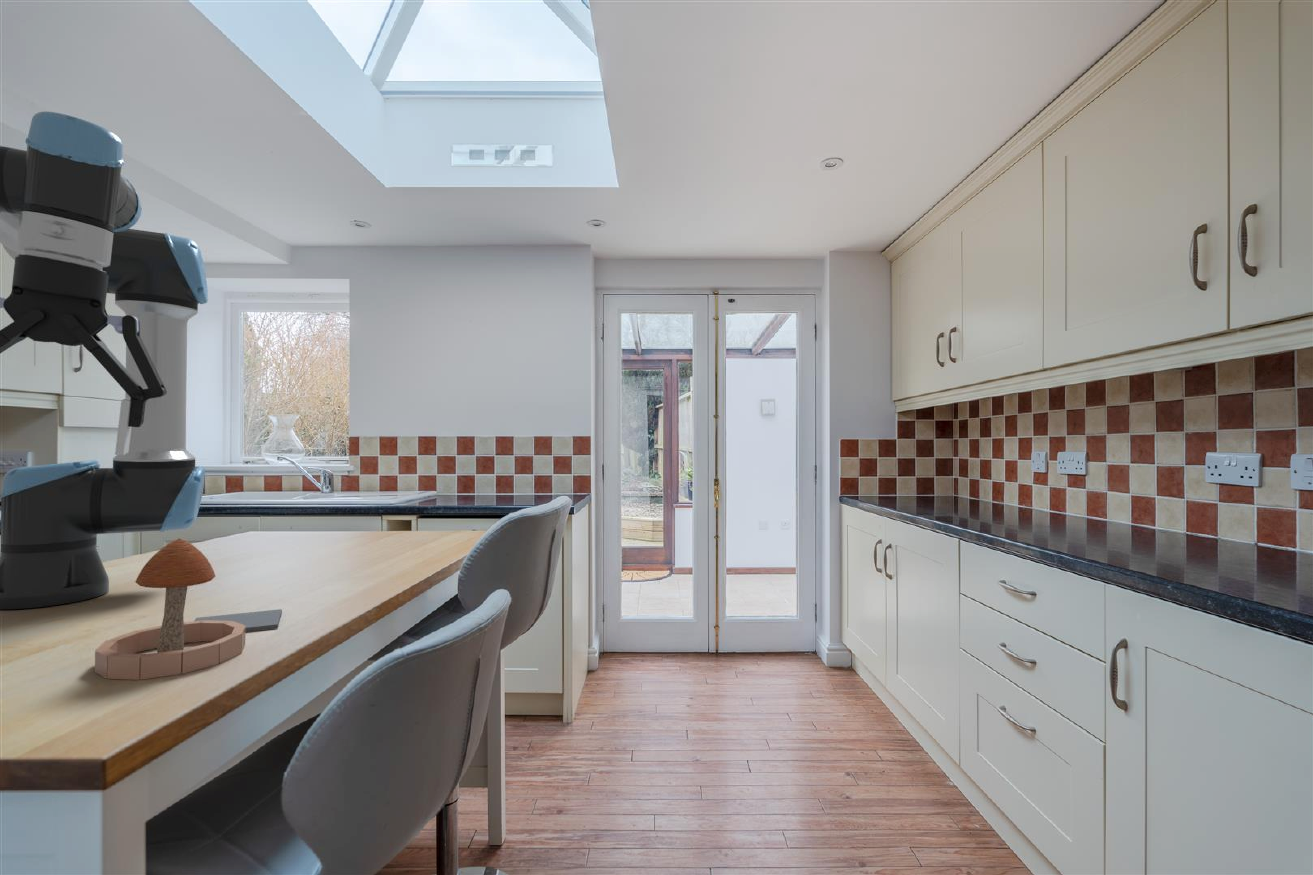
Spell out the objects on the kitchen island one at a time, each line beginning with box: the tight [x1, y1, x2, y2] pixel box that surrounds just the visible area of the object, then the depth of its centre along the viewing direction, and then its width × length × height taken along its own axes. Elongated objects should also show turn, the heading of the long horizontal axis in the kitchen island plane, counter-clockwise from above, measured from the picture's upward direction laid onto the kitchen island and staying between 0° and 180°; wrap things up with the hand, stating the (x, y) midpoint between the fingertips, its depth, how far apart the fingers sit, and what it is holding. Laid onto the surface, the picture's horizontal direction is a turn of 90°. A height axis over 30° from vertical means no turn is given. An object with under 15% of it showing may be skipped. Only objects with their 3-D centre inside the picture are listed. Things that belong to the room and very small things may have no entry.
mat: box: [193, 608, 283, 633], centre depth 90 cm, size 9×11×1 cm
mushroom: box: [134, 538, 216, 653], centre depth 76 cm, size 8×8×15 cm
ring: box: [94, 620, 247, 680], centre depth 76 cm, size 14×14×2 cm
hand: (43, 448), depth 68 cm, fingers open, 13 cm apart
